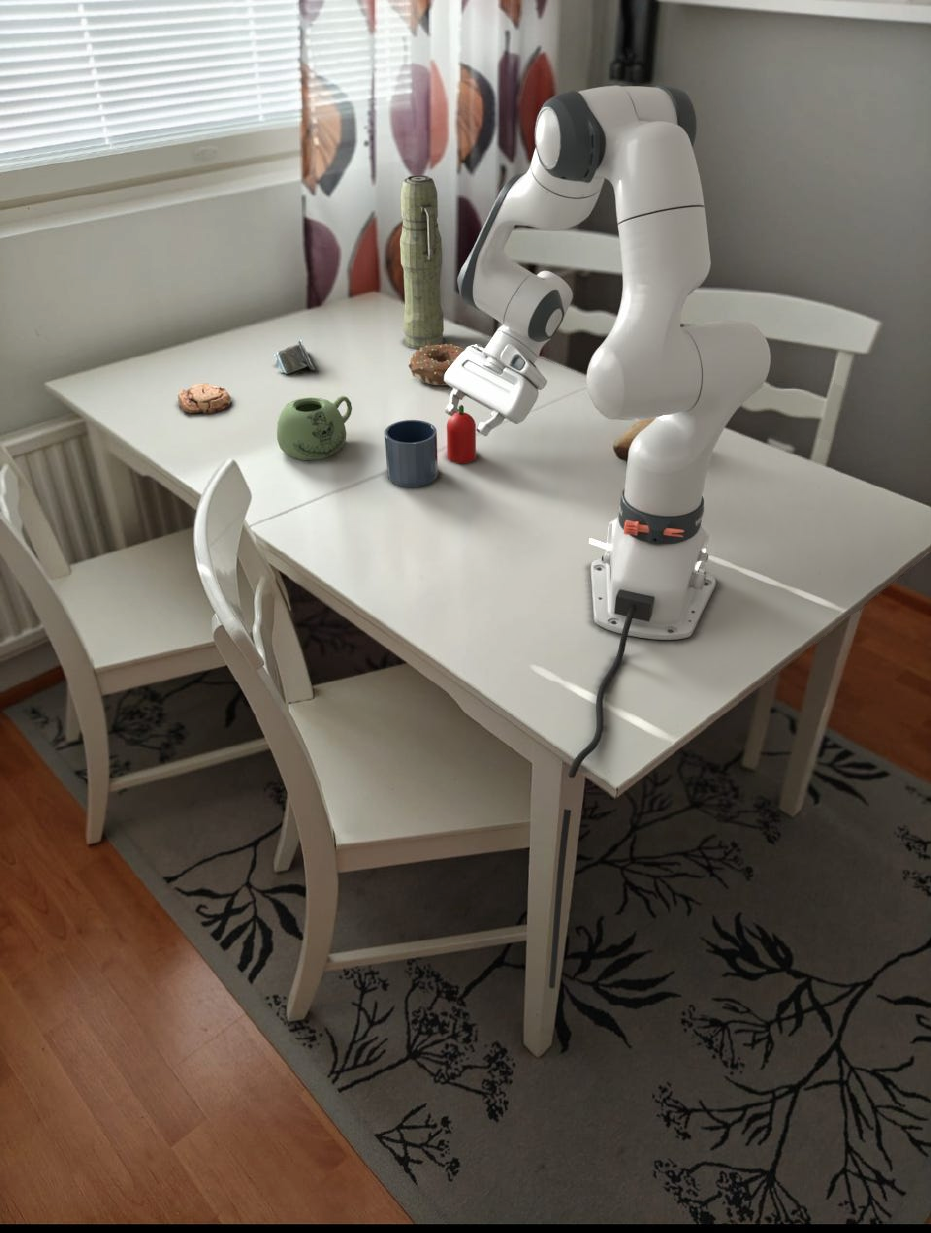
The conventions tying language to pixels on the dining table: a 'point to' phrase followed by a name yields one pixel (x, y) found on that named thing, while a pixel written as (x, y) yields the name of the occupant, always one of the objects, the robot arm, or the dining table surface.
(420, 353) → the donut
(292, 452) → the mug
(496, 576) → the dining table surface
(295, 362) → the grey blocky piece
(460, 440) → the pepper
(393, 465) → the cup
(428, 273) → the thermos
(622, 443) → the vegetable
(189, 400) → the cookie
